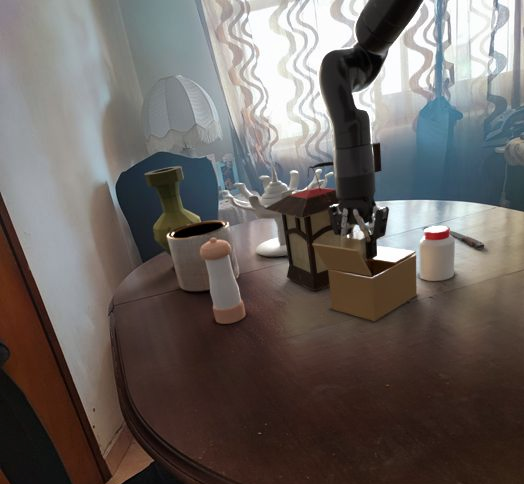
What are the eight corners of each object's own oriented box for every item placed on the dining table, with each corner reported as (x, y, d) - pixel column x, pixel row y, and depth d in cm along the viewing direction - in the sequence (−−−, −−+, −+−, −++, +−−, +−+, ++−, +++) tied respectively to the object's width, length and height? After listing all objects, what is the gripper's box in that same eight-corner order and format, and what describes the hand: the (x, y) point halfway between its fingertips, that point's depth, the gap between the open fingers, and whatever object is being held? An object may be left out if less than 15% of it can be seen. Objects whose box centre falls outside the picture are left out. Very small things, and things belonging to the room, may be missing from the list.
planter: (173, 283, 139) (159, 231, 132) (227, 266, 144) (217, 216, 137) (190, 300, 124) (175, 243, 117) (249, 281, 129) (238, 225, 122)
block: (377, 255, 96) (376, 232, 93) (362, 263, 93) (360, 239, 91) (358, 252, 99) (357, 230, 97) (343, 260, 97) (341, 237, 94)
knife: (422, 225, 144) (438, 222, 144) (422, 229, 145) (438, 226, 145) (467, 247, 120) (486, 243, 120) (467, 252, 120) (486, 247, 120)
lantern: (395, 267, 120) (391, 142, 105) (311, 298, 111) (294, 167, 97) (353, 253, 135) (344, 142, 121) (275, 279, 127) (256, 164, 112)
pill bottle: (438, 283, 106) (438, 236, 101) (412, 276, 112) (411, 232, 107) (461, 273, 109) (462, 227, 104) (435, 266, 115) (435, 223, 110)
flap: (372, 274, 91) (371, 276, 91) (328, 266, 99) (327, 267, 99) (357, 249, 86) (356, 251, 86) (312, 243, 94) (311, 244, 94)
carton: (374, 321, 95) (371, 274, 91) (332, 309, 104) (327, 266, 99) (416, 295, 103) (416, 251, 98) (373, 286, 111) (371, 245, 107)
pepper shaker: (215, 326, 107) (195, 245, 98) (216, 313, 113) (197, 237, 104) (245, 320, 107) (228, 239, 98) (245, 308, 113) (229, 231, 104)
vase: (159, 266, 158) (132, 174, 144) (203, 253, 162) (182, 163, 148) (169, 278, 144) (140, 178, 130) (217, 264, 148) (195, 166, 134)
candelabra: (252, 277, 132) (233, 178, 119) (222, 250, 162) (204, 168, 149) (358, 247, 139) (351, 150, 126) (311, 226, 169) (301, 146, 156)
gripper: (398, 166, 85) (400, 255, 93) (339, 167, 95) (345, 247, 103) (372, 175, 81) (377, 267, 89) (313, 175, 91) (322, 258, 99)
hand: (360, 256), depth 96 cm, fingers closed on block, 5 cm apart
